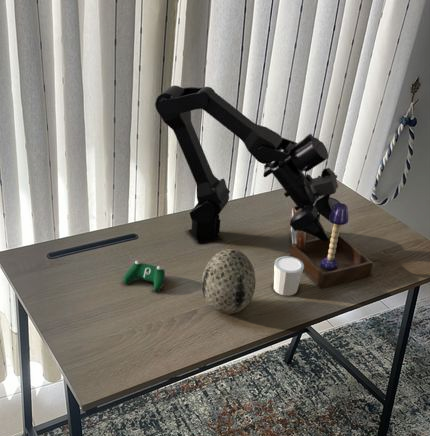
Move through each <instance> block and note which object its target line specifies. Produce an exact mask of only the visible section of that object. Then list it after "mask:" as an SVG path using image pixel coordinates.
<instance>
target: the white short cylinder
mask: <svg viewBox="0 0 430 436" xmlns="http://www.w3.org/2000/svg"><path fill="white" fill-rule="evenodd" d="M273 268H274V270H273V290H274V291H275V292H276V293H277V294H279V295H282V296H286V297H288V296H289V297H290V296H293V295H295V294H296V293H297V292H298V289H299V285H300V282H301V280H302V275H303V272H304V271H303V269H304V264H303V262H302V261H300V260H299V259H297V258H294V257H290V255H286V256H280V257H278V258H276V259H275V260H274V267H273Z"/></svg>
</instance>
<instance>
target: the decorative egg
mask: <svg viewBox="0 0 430 436" xmlns="http://www.w3.org/2000/svg"><path fill="white" fill-rule="evenodd" d="M256 282H257V281H256V273H255V268H254V266H253V264H252V262H251V260H250V259H249V258H248V256H247V255H246V254H244V253H243V252H242V251H240V250H238V249H234V248H227V249H223V250H220V251H219V252H218V251H217V253H215V254H214V255H213V256H212V257H211V259H210V260H209V261H208V262H207V264H206V266H205V268H204V271H203V274H202V278H201V292H202V295H203V298H204V300H205V302H206V303H207V305H208V306H209V307H210V308H211V309H212V310H214V311H216V312H218V313H220V314H224V315H231V314H236V313H238V312H240V311H242V310H244V309H245V308H246V307H247V306H248V305H249V304H250V302H251V301H252V299H253V296H254V294H255V290H256V284H257V283H256Z"/></svg>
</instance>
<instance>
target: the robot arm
mask: <svg viewBox="0 0 430 436" xmlns="http://www.w3.org/2000/svg"><path fill="white" fill-rule="evenodd" d="M154 107H155V109H156V112H157V113H158V115H159V117H160V118H161V120H162V122H163V123H165V124H166V126H168V128H170V129H171V130H172V131H173V133H174V135H175V138H176V140H177V142H178V145H179V147H180V149H181V152H182V154H183V156H184V159H185V161H186V163H187V165H188V168H189V170H190V173H191V175H192V178H193V180H194V182H195V185H196V186H195V187H196V201H197V203H196V204H195V206H194V207H193V208H192V209H191V211H189V216H190V219H191V228H190V229H188V233H189V235H190V236H191V237H192V239H194V240H195V241H196V242H197V244H203V243H204V244H205V243H209V242H213V241H219V240H221V236H220V231H221V230H220V229H221V219H220V214H221V212H222V211H223V210H224V208H225V207H226V206H227V204H228V203H229V200H230V193H231V191H230V189H229V188H228V186H227V183H226V180H225V178H221V179H219V178H218V177H216V176H215V174H214V173H213V170H212V168H211V165H210V164H209V162H208V159H207V156H206V154H205V152H204V149H203V147H202V144H201V142H200V139H199V137H198V135H197V132H196V129H195V127H194V124H193V122H192V111H196V110H203V111H204V112H205V113H207V114H208V115H210V117H212V118H213V119H214V120H216V121H217V123H220V124H221V125H222V126H223V127H225V129H227V130H228V131H230V132H231V133H232V134H233V135H235V136H236V137H237V138H239V139H240V141H241V142H242V143H243V144H244V146H245V148H246V149H247V152H249V154H250V155H252V157H253V158H254V159H255V160H256V161H257V162H258V163H260V164H263V165H264V169H263V170H264V171H263V176H262V177H264V178H267V177H268V176H270V175H271V174H272V176H273V177H274V178H275V179H276V180H277V182H278V183H279V184H280V186H281V187H282V188H283V190H284V193H283V195H284V196H285V198H288V197H289V198H290V199H291V200H292V201H293V203H294V206H295V207H294V208H295V209H296V211H297V210H299V209H301V210H299V211H297V212H296V213H294V215H293V217H292V216H291V218H290V222H289V226H290V228H291V227H292V228H293V229H294V231H297V230H298V231H303V232H306V234H309V235H311V236H313V237H315V238H316V239H317V238H319V239H321V240H323V241H325V242H326V241H328V240H329V237H328V236H329V235H328V234H327V232H326V230H325V228H324V227H323V225H322V222H321V221H320V220H321V219H320V218H321V216H322V217H323V218H324V219H326V220H327V221H328V222H330V221H329V215H330V213H331V211H332V209H333V206H332V204H331V199H330V198H331V196H332V195H334V194H336V192H337V189H338V188H339V184H338V182H337V180H338V179H337V178H338V175H337V174H336V173H335V172H333V170H332V169H331V168H330V167H327V168H323V169H322V171H321V174H320V175H318V176H317V177H312V176H311V174H308V173H306V174H305V173H304V172H309V171H311V170H313V169H314V168H315V167H317V166H319V165H320V164H322V163H323V162H325V161H326V160H328V159H329V152H328V149H327V147H326V145H325V143H324V142H323V141H321V140H320V139H319V138H317V137H315V136H313V134H312V133H308V134H307V135H306V136H305V137H304V138H303V139H301V140H300V141H298V142H296V141H293V140H290V139H288V138H285V137H282V136H281V135H280V134H279V133H278V132H276V131H274V130H272V129H271V128H269V127H268V126H263V125H260V124H257V123H255V122H254V121H252V120H251V119H250V118H248V117H247V116H246V115H244V114H243V112H241V111H240V110H238V109H237V108H236V107H234V106H233V105H232V104H231V103H229V102H228V101H227V100H226V99H224V98H223V97H222V96H221V95H220V94H218V93H217V92H216V91H215V89H213V88H212V87H211V86H204V87H202V86H201V87H197V86H188V87H186V86H185V87H182V86H179V85H171V86H169V87H168V88H167V89H165V90H163V91H162V93H160V94H159V95H158V96H157V97H156V100H155V103H154Z"/></svg>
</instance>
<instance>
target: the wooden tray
mask: <svg viewBox="0 0 430 436" xmlns="http://www.w3.org/2000/svg"><path fill="white" fill-rule="evenodd" d="M328 237H329V240H328V241H326V242H325V241H323V240H321V239H319V238H317V237H316V238H313V239H312V238H311V239H307V240H306V243H305V250H304V252H303V251H301V250H300V249H299V248H298V247H297V246H296V243H294V244H292V243H291V246H290V251H289V252H290V253H289V257H294V258H297V259H299V260H300V261H302V262H303V264H304V269H303V272H304V273H305V274H306V275H307V276H308V277H309V278H310V279H311V280H312V281H313V282H314V283H315V284H316V285H317V286H318V287H320V289H324V288H328V287H331V286H335V285H339V284H343V283H347V282H350V281H354V280H359V279H363V278H367V277H370V276H371V272H372V269H373V264H374V262H373V261H372V260H371V259H370V258H369V257H367V256H366V255H365V254H364V253H362V252H361V250H359V249H358V248H357V247H355V246H354V245H353V244H352V243H351V242H349V241H348V239H347V238H345V237H344V236H342V235H341V234H340V233H339V236H338V241H337V243H336V244H337V247H336V252H335V254H334V255H335V258H334V259H335V260H336V261H337V263H338V267H337V269H334V270H327V269H324V268H323V267H322V266H321V262H322V260H323V259H324V258H327V257H328V254H329V253H328V251H329V249H330V248H329V245H330V243H331V242H330V239H331V237H332V236H331V235H328Z"/></svg>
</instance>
